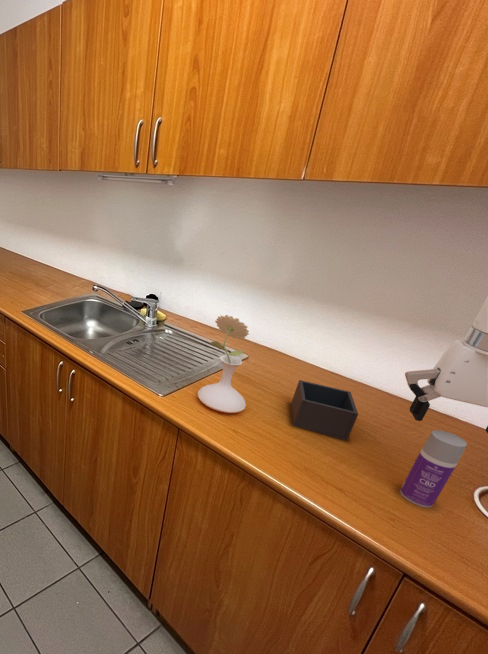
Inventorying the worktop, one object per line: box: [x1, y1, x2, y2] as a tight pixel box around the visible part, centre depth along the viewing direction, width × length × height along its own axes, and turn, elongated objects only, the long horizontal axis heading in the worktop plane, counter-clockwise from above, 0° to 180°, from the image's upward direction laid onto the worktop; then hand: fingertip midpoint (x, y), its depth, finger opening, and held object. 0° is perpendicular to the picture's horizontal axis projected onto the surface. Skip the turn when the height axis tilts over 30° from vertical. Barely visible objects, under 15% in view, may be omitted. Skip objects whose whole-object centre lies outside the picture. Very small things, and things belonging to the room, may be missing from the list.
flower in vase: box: [197, 314, 250, 414], centre depth 103 cm, size 13×11×25 cm
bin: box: [290, 379, 359, 441], centre depth 98 cm, size 10×10×8 cm
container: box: [399, 429, 468, 509], centre depth 75 cm, size 5×5×15 cm
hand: (452, 426), depth 72 cm, fingers open, 9 cm apart
